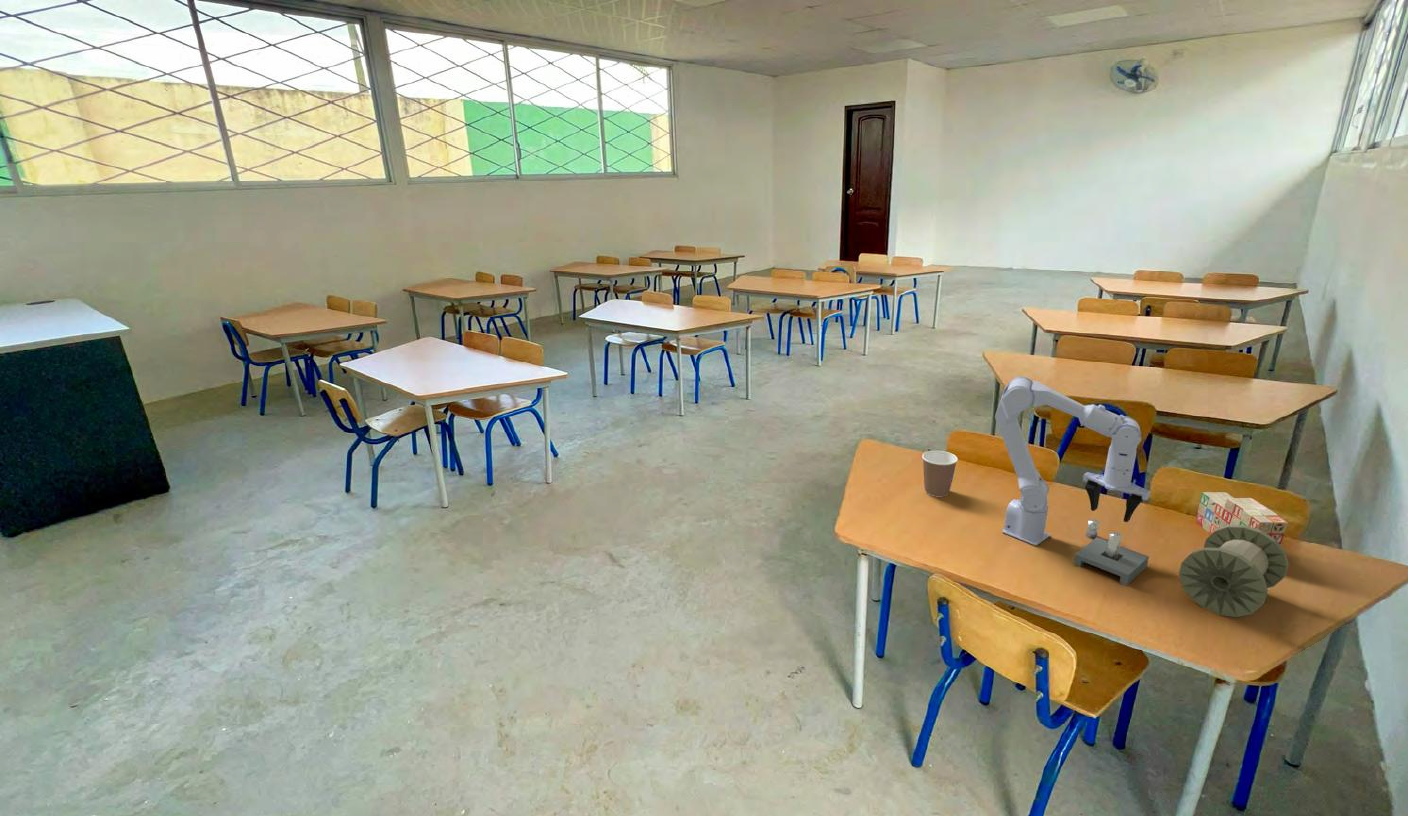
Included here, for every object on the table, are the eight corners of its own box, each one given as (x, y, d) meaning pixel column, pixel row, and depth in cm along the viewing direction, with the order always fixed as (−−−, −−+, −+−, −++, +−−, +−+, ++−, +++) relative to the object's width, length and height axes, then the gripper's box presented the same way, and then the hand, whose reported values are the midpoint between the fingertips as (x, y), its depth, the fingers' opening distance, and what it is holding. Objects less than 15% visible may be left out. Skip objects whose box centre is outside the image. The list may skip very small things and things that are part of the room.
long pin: (1101, 565, 160) (1107, 533, 157) (1107, 561, 161) (1113, 530, 158) (1111, 570, 158) (1118, 538, 155) (1117, 566, 159) (1124, 535, 156)
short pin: (1084, 535, 173) (1086, 521, 172) (1088, 532, 175) (1091, 518, 173) (1094, 539, 171) (1097, 525, 170) (1098, 536, 173) (1101, 521, 171)
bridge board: (1073, 564, 161) (1075, 553, 160) (1094, 547, 168) (1096, 537, 167) (1126, 585, 152) (1128, 575, 151) (1146, 566, 159) (1149, 556, 158)
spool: (1200, 569, 157) (1213, 515, 152) (1278, 598, 146) (1296, 541, 141) (1173, 596, 148) (1187, 539, 143) (1254, 629, 136) (1272, 568, 131)
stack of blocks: (1194, 521, 178) (1204, 481, 174) (1218, 522, 177) (1229, 481, 173) (1247, 565, 158) (1260, 521, 154) (1275, 566, 157) (1288, 521, 153)
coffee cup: (959, 499, 195) (963, 463, 191) (925, 500, 195) (928, 464, 191) (947, 484, 205) (950, 449, 201) (915, 485, 205) (917, 451, 201)
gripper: (1081, 461, 161) (1073, 509, 166) (1146, 480, 151) (1135, 531, 155) (1093, 454, 165) (1085, 501, 170) (1157, 472, 155) (1147, 521, 159)
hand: (1110, 514), depth 163 cm, fingers open, 7 cm apart
